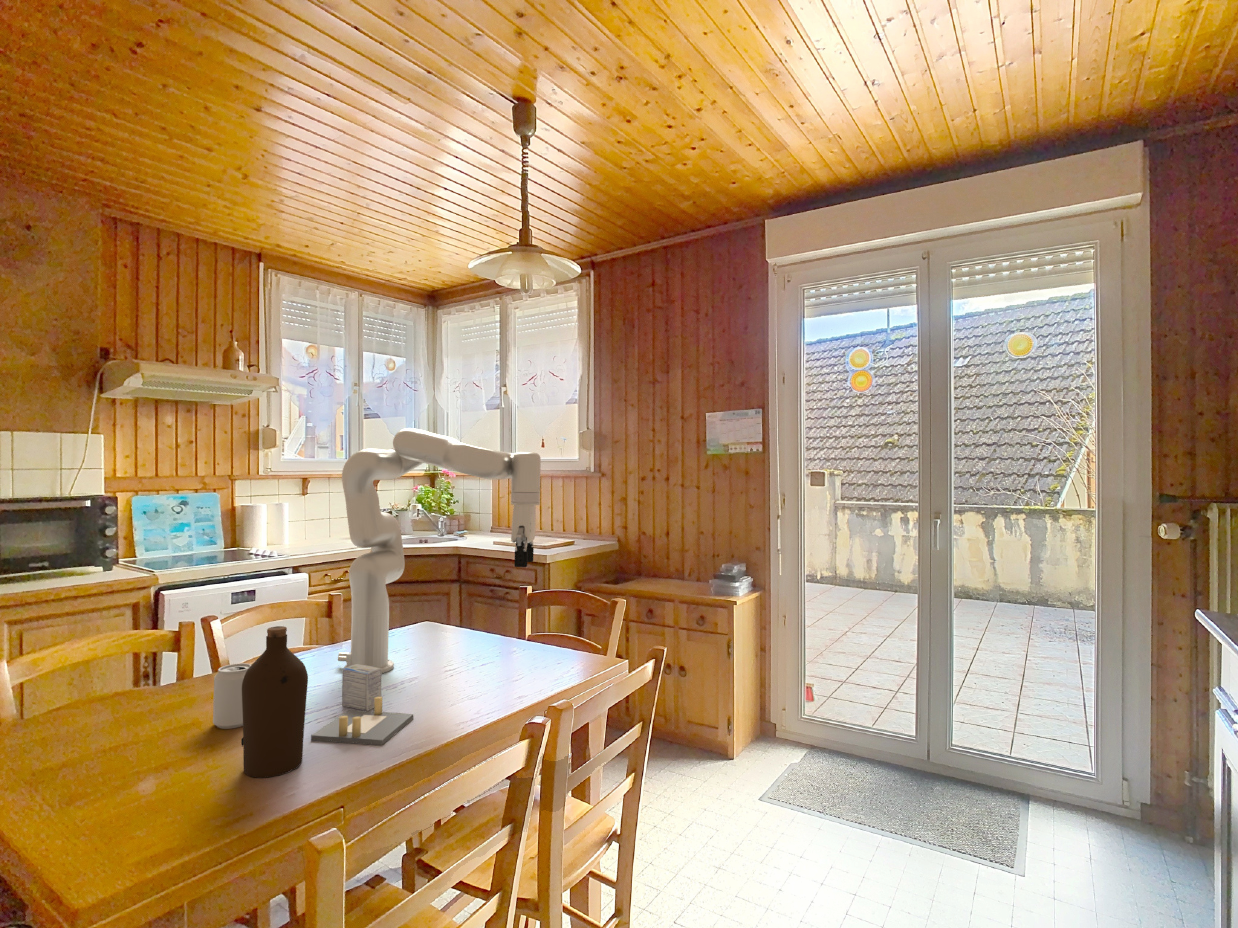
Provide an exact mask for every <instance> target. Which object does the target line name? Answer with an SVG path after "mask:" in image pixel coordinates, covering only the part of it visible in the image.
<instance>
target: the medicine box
mask: <svg viewBox="0 0 1238 928" xmlns="http://www.w3.org/2000/svg"><path fill="white" fill-rule="evenodd" d="M341 683H342V684H341V685H342V686H341V688H342V689H341V706H342V707H347V708H352V709H356V710H359V711H371V710H373V709H374V704H375V697H382V673H381V668H377V667H372V666H366V665H360V664H355V665H352V666H349V667H346V668H344V667H343V668H342V682H341Z"/></svg>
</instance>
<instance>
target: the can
mask: <svg viewBox="0 0 1238 928" xmlns="http://www.w3.org/2000/svg"><path fill="white" fill-rule="evenodd" d="M251 665H252V664H250V663H245V662H244V663H243V662H239V663H231V664H227V665H223V666H221V667H219V668H218V669H217V673H216V674H215V675H214V677H213V703H212V704H213V707H212V708H213V709H212V710H213V711H212V717H213V718H212V723H213V724H214V725H215V726H216V727H217V728H218V729H222V730H223V729H224V730H227V729H237V728H241V727H243V711H242V682H243V679H244V676H245V673H246V671H247V670H248V668H249V667H250V666H251Z"/></svg>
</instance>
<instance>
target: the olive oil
mask: <svg viewBox="0 0 1238 928" xmlns="http://www.w3.org/2000/svg"><path fill="white" fill-rule="evenodd" d="M287 631H288V630H287V626H284V625H283V626H277V625H276V626H272V627H268V628H267V629H266V634H267V636H266V637H265V638H266V639H265V640H266V641H265V642H266V643H265V644H266V645H265V647H266V649H265V650H264V651H263V652H262V653H261V655H260V656H258V657H257V658H256V660H255V661H253V663H252V664H251V666H250V667H249V668H248V670H247V671H246V673H245V676H244V679H243V682H242V711H243V726H242V738H241V739H240V740H241V746H242V747H243V754H242V755H243V756H242V757H243V761H242V762H243V765H242V766H243V774H245V775H246V776H248V777H250V778H251V777H252V778H260V779H261V778H262V779H263V778H271V777H277V776H281V775H284V774H287V773H289V772H292V771H294V770H295V769H297V768H298V767H299V766H300V765H301V764H302V762H303V756H304V755H303V754H304V750H303V749H304V733H305V731H304V730H305V720H306V719H305V718H306V706H307V695H308V685H309V684H308V683H309V675H308V671H307V668H306V666H305V664H304V663H303V661H302V660H301V659H300V658H299V657H298V656H297V655H295V654H294V653H293V652H292V651H291V650H290V649H289V648H288V647H287V644H288V634H287Z"/></svg>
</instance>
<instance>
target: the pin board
mask: <svg viewBox="0 0 1238 928" xmlns="http://www.w3.org/2000/svg"><path fill="white" fill-rule="evenodd" d="M373 709H374V711H371V710H369V711H365V710H358V709H356V710H353V709H348V710H347V711H345V712H343V713H342V714H340V715H339V716H337V717H336V718H335V719H333V720H331V721H330V722H328V723H327V724H325V725H324V726H323V727H321V728H319V729H318V730H317V731H315V732H313V733H312V734H311V735H310V741H316V742H317V741H318V742H331V743H333V742H334V743H346V744H348V743H349V744H358V743H361V745H375V746H376V745H377V746H383V745H384V744H385V743H387V742H388V741H389V740H390V739H392V737H394V736H395V735H396V734H397V733H399V731H401V730H402V729H403V728H404V727H405V726H406V725H407V724H409V723H410V722H411V721H412V720H414V713H401V712H389V711H388V712H385V711H383V696H381V697H375V704H374V708H373Z"/></svg>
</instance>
